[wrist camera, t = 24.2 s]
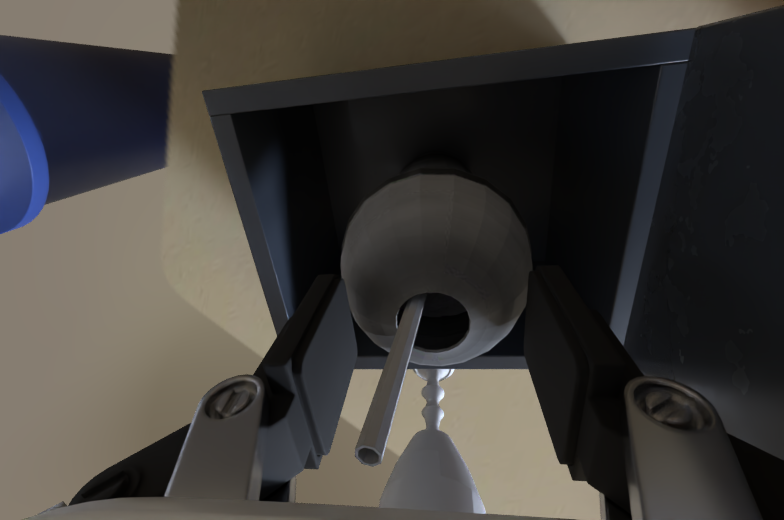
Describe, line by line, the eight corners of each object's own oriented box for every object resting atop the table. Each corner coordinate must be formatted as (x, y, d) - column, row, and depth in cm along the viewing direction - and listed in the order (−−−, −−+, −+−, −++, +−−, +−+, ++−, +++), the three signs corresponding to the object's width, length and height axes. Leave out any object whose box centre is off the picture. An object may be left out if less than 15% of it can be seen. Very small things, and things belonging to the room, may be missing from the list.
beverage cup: (454, 252, 26) (493, 621, 8) (364, 207, 25) (190, 506, 7) (512, 162, 23) (791, 449, 5) (411, 107, 22) (304, 210, 4)
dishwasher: (337, 273, 29) (287, 369, 19) (300, 87, 23) (200, 90, 13) (553, 265, 26) (620, 370, 17) (575, 53, 20) (700, 27, 11)
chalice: (476, 378, 32) (516, 669, 16) (403, 383, 33) (373, 657, 17) (467, 312, 29) (506, 590, 13) (387, 320, 30) (334, 583, 14)
